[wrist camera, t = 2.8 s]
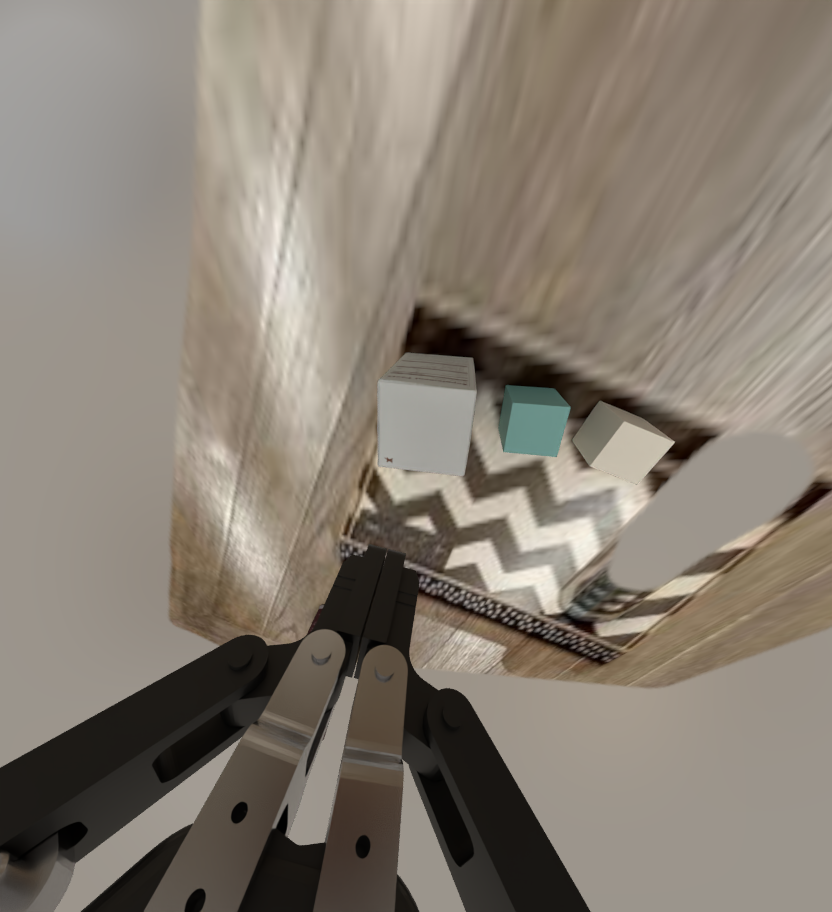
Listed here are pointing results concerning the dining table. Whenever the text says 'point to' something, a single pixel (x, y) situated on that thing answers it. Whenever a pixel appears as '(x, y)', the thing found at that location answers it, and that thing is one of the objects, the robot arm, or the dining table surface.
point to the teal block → (532, 420)
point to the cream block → (620, 443)
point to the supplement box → (426, 413)
